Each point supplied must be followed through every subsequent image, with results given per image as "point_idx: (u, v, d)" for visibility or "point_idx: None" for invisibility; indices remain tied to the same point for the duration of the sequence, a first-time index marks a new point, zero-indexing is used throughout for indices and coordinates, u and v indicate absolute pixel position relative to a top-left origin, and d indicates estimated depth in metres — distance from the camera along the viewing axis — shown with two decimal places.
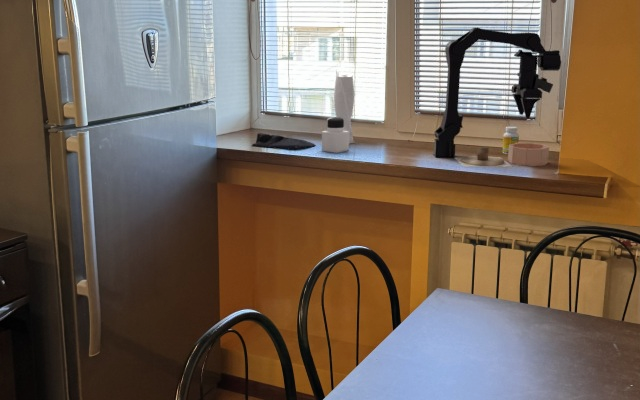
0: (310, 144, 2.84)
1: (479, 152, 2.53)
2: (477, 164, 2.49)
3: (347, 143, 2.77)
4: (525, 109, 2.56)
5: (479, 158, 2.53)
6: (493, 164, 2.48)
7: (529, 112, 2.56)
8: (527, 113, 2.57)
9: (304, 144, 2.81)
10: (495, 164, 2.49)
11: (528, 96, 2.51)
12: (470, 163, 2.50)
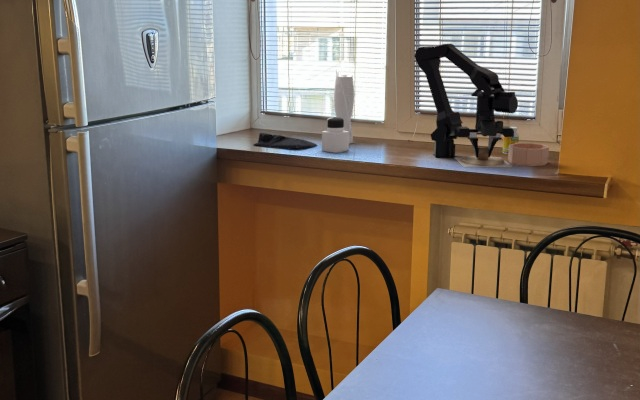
0: (311, 144, 2.84)
1: (479, 152, 2.53)
2: (477, 164, 2.49)
3: (347, 143, 2.77)
4: (473, 147, 2.55)
5: (479, 158, 2.53)
6: (493, 164, 2.48)
7: (475, 151, 2.53)
8: None
9: (305, 144, 2.81)
10: (495, 164, 2.49)
11: (455, 133, 2.54)
12: (470, 163, 2.50)
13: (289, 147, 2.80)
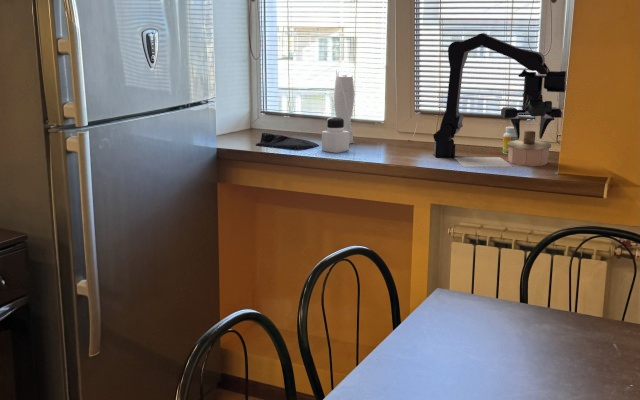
0: (313, 144, 2.84)
1: (526, 136, 2.51)
2: (525, 148, 2.47)
3: (347, 143, 2.77)
4: (514, 128, 2.53)
5: (526, 142, 2.51)
6: (541, 148, 2.46)
7: (516, 132, 2.51)
8: (516, 133, 2.52)
9: (306, 144, 2.81)
10: (543, 148, 2.47)
11: (501, 114, 2.52)
12: (517, 147, 2.48)
13: (290, 147, 2.80)
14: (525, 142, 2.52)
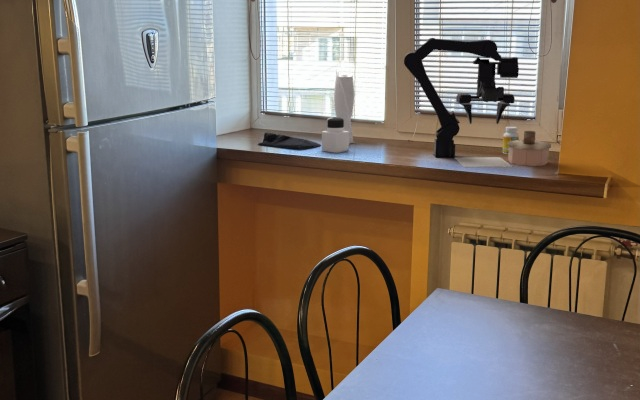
0: (315, 144, 2.84)
1: (526, 136, 2.51)
2: (525, 148, 2.47)
3: (347, 143, 2.77)
4: None
5: (526, 142, 2.51)
6: (541, 148, 2.46)
7: (468, 117, 2.60)
8: (468, 118, 2.61)
9: (308, 144, 2.81)
10: (543, 148, 2.47)
11: (456, 100, 2.60)
12: (517, 147, 2.48)
13: (292, 147, 2.80)
14: (525, 142, 2.52)
